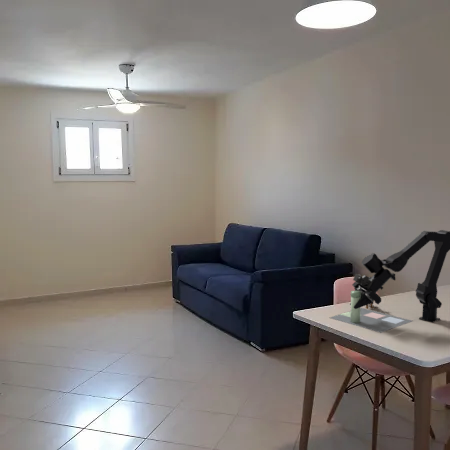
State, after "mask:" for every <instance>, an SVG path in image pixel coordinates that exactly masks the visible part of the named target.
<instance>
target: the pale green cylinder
mask: <svg viewBox="0 0 450 450" xmlns="http://www.w3.org/2000/svg"><path fill="white" fill-rule="evenodd" d="M360 298H361V292H360V291H355V290H351V291H350V303H351V305H350V311H351V320H350V322H352V323H360V309H361V308H362V307H360V308H357V309H355V308H354V306H355V304H356V303H357V302H358V300H359V299H360Z"/></svg>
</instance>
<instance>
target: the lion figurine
mask: <svg viewBox="0 0 450 450" xmlns="http://www.w3.org/2000/svg"><path fill="white" fill-rule="evenodd" d="M373 303H375V301H374V300H373ZM369 305H370V306H369ZM369 308H370V309H374V307H373V304H372V303H371V304H368V305H365V309H368V310H369Z"/></svg>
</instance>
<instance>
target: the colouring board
mask: <svg viewBox="0 0 450 450" xmlns="http://www.w3.org/2000/svg"><path fill="white" fill-rule="evenodd" d="M328 318H329V319H332V320H335V321H338V322H341V323H342V322H343V323H346V324H349V325H351V326H356V327H360V328H363V329H367V330H371V331H374V332H377V333H380V334H381V333H385V332H387V331H390V330H392V329H395V328H397V327H401V326H403V325H406V324H409V323H412V322H413V320H411V319H408V318H404V317H403V318H402V317H399V316H396V315H391V314H387V313H383V312H380V311H379V312H378V311H375V310H371V309H369V308H368V309H366V308H363V307H361V309H360V323H352V322H350V320H351V310H350V311H347V312H344V313H340V314H337V315H334V316H330V317H328Z"/></svg>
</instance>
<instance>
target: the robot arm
mask: <svg viewBox="0 0 450 450" xmlns="http://www.w3.org/2000/svg"><path fill="white" fill-rule="evenodd" d="M429 242H434V252H433V255H432V257H431V258H432V259H431V260H430V264H429V267H428V271H427V272H426V275H425V278H424V281H423V282H421V283H420V282H417V287H416V289H415V296H416V298H417V300H418V301H419V304H421V305H422V311H421V313H422V316H420V317H419V318H418V319H419V320H422V321H426V322H429V323H434V322H437V321H440V320H441V317H438V315H437V314H438V309H440V308H441V307H442V305H443V304H442V303H443V302H441V301H440V300H439V299H438V298H437V295H438V287H437V283H438V281H439V278H440V275H441V273H442V269H443V266H444V263H445V260H446V257H447V255H448V253H449V251H450V231H449V230H444V229H441V230H438V231H429V230H423V231H421V232H420V234H418V236H416V237H415V238H414V239H412V240H411V242H410V243H408V244H407V245H406V246H405V247H404V248H402V249H401V250H399V251H398V252H395V253H393V254H391V255H389V256H388V257H386V258H385V259H380V258H379V257H378V255H377V254H376V253H375V252H372V253H371V254H369V255H367V256H365V257H364V258H363V259H362V260H361V265H362V266H363V267H364V268H365V269H366V270H368V272H369V273H370V274H373V275H372V276H367V275H361V274H357V273H355V275H354V277H353V279H352V281H354V282H353V283H352V284H351V285H352V286H353V288H354V291H360V292H361V298H360V299H359V300H358V302H357V303H356V304H355V306H354V308H355V309H357V308H360V307H361V308H363V307H366V305H368V306H369V305H371V303H372V305H373V304H374V303H375V304H377V305H380V303H381V302H382V297H381V296H380V295H379V294H378V291H380V290H381V291H382V290H383V289H384V287H383V286H384V285H385V284H386V283H387V282H388V281H389V280H392V281H396V279H397V278H396V273H399V272H401V271H402V270H403V269H404V268H405V267H406V266H407V264H408V262H409V260H410V259H412V257H413V256H414V255H415V254H416V253H418V252H419V251H420V250H421V249H422V248H423V247H424V246H426V245H427V244H428V243H429ZM391 271H392V272H391ZM394 272H395V273H394ZM373 300H374V302H373ZM349 306H351V302H350V303H349Z"/></svg>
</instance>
